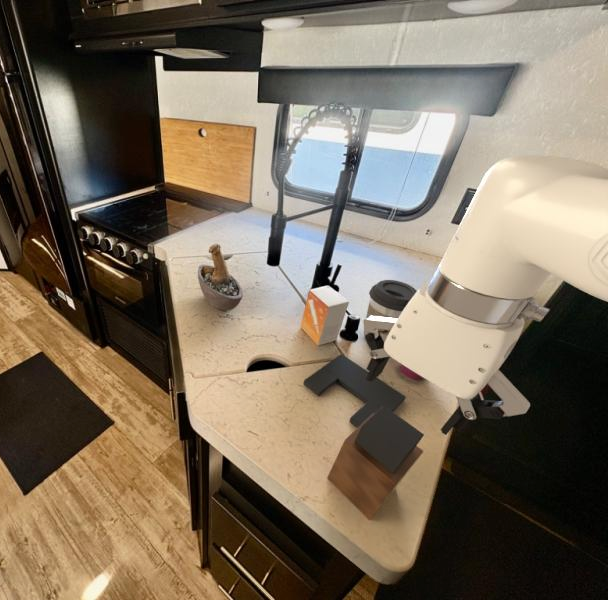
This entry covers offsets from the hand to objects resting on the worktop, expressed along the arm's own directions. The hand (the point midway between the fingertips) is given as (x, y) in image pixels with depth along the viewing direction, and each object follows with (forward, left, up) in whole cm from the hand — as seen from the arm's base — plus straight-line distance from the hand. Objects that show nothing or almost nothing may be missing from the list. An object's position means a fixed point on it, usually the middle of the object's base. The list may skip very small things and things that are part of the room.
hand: (407, 399), depth 41 cm
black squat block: (0, 0, -11) cm, 11 cm away
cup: (+7, -33, -23) cm, 41 cm away
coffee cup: (+19, -39, -23) cm, 49 cm away
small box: (+29, -26, -23) cm, 45 cm away
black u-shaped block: (+12, -16, -23) cm, 30 cm away
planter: (+56, -13, -23) cm, 62 cm away
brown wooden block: (0, 0, -23) cm, 23 cm away
